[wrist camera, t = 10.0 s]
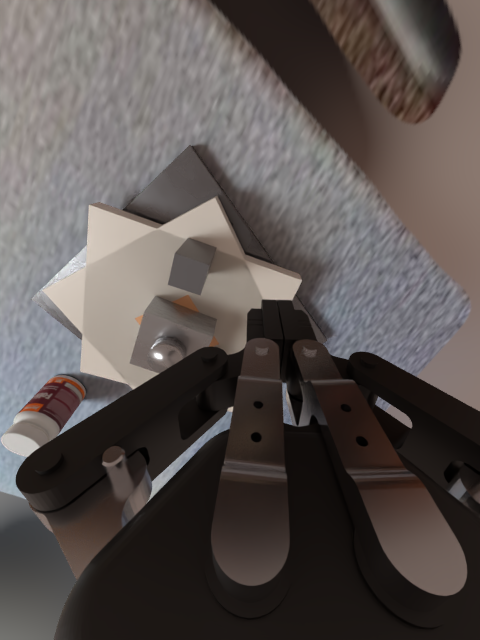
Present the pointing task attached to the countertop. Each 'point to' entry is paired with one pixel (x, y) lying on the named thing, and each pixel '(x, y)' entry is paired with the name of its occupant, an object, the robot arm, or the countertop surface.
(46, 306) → the base
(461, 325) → the countertop surface
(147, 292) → the turntable
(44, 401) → the pill bottle
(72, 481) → the robot arm
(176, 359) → the cover
